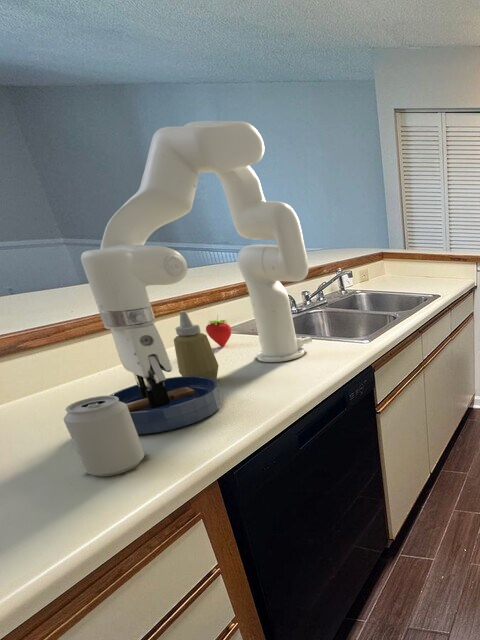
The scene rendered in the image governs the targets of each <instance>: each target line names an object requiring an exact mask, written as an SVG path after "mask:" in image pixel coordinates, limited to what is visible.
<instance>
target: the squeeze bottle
mask: <svg viewBox="0 0 480 640" xmlns="http://www.w3.org/2000/svg"><path fill="white" fill-rule="evenodd" d="M174 329H175V332H176V335H177V336H175V337H174V338H173V345H174V351H175V356H176V362H177V363H176V364H177V367H178V373H179V375H180V376H181V377H182V376H202V377H209V378H212V379H214V380H215V381H216V382H217V380H218V374H219V373H218V372H219V366H220V365H219V363H218V360H217V358H216V355H215V352H214V351H213V348H212V346H211V343H210V341H209V338H208V334H205V333H203V332H202V330H201V328H200V325H199V324H194V323H193V321H192V320H191V317H190V316H189V314H188V312H187V311H186V310H181V311H179V326H176V327H175V328H174Z"/></svg>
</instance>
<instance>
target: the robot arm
mask: <svg viewBox="0 0 480 640" xmlns="http://www.w3.org/2000/svg"><path fill="white" fill-rule="evenodd" d="M264 154H265V143H264V139H263V138H262V135H261V134H260V132H259V131H258V130H257V128H255V126H254V125H252V124H251V123H248V122H246V121H242V120H241V121H240V120H197V121H191V122H188V123H186V124H185V125H182V126H181V125H180V126H175V125H174V126H164V127H161V128H158V129H157V130H156V131H155V132H154V133H153V136H152V138H151V142H150V146H149V150H148V153H147V158H146V162H145V166H144V171H143V174H142V177H141V181H140V186H139V188H138V189H137V192H136V193H134V194H133V195H132V196H131V197H130V198H129V199H128V200H126V201H125V202H124V203H123V205H121V206H120V208H118V210H117V211H116V212H114V214H113V215H112V216H111V217H110V218H109V221H108V222H107V224H106V226H105V229H104V232H103V234H102V235H103V236H102V239H101V243H100V248H98V249H91V250H86V251H83V252H82V253H81V255H80V261H81V265H82V267H83V271H84V273H85V276H86V278H87V281H88V285H89V287H90V290H91V292H92V295H93V298H94V300H95V304H96V307H97V309H98V312H99V315H100V318H101V321H102V324H103V326H104V328H105V329H106V330H111V335H112V338H113V342H114V345H115V349H116V352H117V354H118V357H119V360H120V362H121V365H122V367H123V368H124V369H125V371H127V372H130V373H132V374H133V376H134V379H135V382H136V385H138V386H139V387H140V388H139V390H140V393H141V396H142V399H145V398H148V401H149V403H150V406H151V408H153V409H155V408H158V407H161V406H165V405H168V404H170V400H169V397H168V394H167V391H166V388H165V383H164V381H166V378H167V377H166V375H165V374H164V372H167V373H170V372H172V371H173V366H172V363H171V360H170V358H169V355H168V352H167V350H166V347H165V344H164V341H163V339H162V337H161V335H160V333H159V331H158V329H157V327H156V325H155V324H156V323H157V320H156V318H155V317H156V316H155V314H154V311H153V307H152V304H151V301H150V298H149V295H148V292H147V288H146V287H147V286H168V285H173V284H177V283H179V282H181V281H182V280H184V278H185V277H186V276H187V273H188V263H187V261H186V258H185V257H184V256H183V255H182V254H181V253H180V252H179V251H177V250H175V249H173V248H170V247H168V246H163V245H146V242H147V240H148V239H149V237H150V236H151V235H152V234H153V233H154V232H156V230H158V229H159V228H161V227H163V226H165V225H167V224H169V223H172V222H175V221H176V220H179V219H180V218H182V217H184V216H187V214H189V213H190V212H191V211H192V209H193V206H194V202H195V201H194V200H195V196H196V192H197V187H198V184H199V183H198V182H199V178H200V175H201V174H202V173H213V174H215V176H216V177H217V178H218V180H219V182H220V184H221V187H222V190H223V193H224V196H225V199H226V203H227V207H228V210H229V214H230V216H231V217H230V218H231V220H232V224H233V226H234V229H235V231H236V232H237V234H238V235H239V236H240V237H242V238H244V239H247V240H255V241H275V242H276V244H258V243H257V244H248V245H245V246H243V247H242V248H240V250H239V251H238V254H237V266H238V269H239V271H240V273H241V275H242V277H243V280H244V282H245V285H246V288H247V292H248V295H249V300H250V303H251V308H252V312H253V319H254V322H255V325H256V326H255V327H256V331H257V334H258V335H257V336H258V341H259V344H260V349H261V351H258V353H256V359H257V361H260V362H263V363H283V362H287V361H292V360H295V359H298V358H301V357H303V356H304V355H305V353H306V352H305V349H304V348H303V346H304V345H308V344H312V342H313V339H312V337H310V336H308V337H307V336H306V337H303V338H302V337H297V335H296V330H295V325H294V324H295V323H294V319H293V313H292V308H291V303H290V297H289V294H288V292H287V290H286V288H285V287H284V285H283V284H282V283H281V282H293V283H294V282H295V283H296V282H301V281H303V280H305V279H306V278H307V276H308V273H309V259H308V255H307V249H306V246H305V241H304V235H303V231H302V227H301V223H300V220H299V217H298V215H297V213H296V211H295V210H294V208H292V207H291V206H290V205H289V204H288V203H285V202H283V201H277V200H274V201H273V200H266V197H265V195H264V192H263V188H262V185H261V181H260V179H259V177H258V175H257V174H256V172H255V170H254V169H253V168H252V167H251V166H252V165H256V164H257V163H259V162H261V160H262V158H263V157H264ZM163 371H164V372H163Z"/></svg>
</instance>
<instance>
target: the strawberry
mask: <svg viewBox="0 0 480 640" xmlns="http://www.w3.org/2000/svg"><path fill="white" fill-rule="evenodd" d="M218 318H219V315H217V317H216V320H215V319H214V320H209V321H208V324H207V325H206V326H205V332H206V333H207V334H206V335H207V336H208V337H209V338H210V339H212V341H213V342H215V344H217V345H219V346H220V347H225V346H226V344H227V343H228V341H229V340H230V338H231V336H232V327H231V325H230V324H228V322H227V319H219V320H218Z"/></svg>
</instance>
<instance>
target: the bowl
mask: <svg viewBox="0 0 480 640" xmlns="http://www.w3.org/2000/svg"><path fill="white" fill-rule="evenodd" d="M165 378H166V381H164V383H165V388H166V391H167V392H169V391H172V390H176V389H179V388H185V387H188V388H191V389H193V390H195V393H194V394H190V395H187V396H186V397H182V398H179V399H176V400H172V401H170V404H168V405H165V406H161V407H158V408H155V409H153V408H151V407H149V408H146V409H143V410H140V411H136V412H130V415H131V418H132V421H133V423H134V426H135V429H136V431H137V434H138V435H149V434H157V433H162V432H163V433H164V432H168V431H172V430H176V429H180V428H184V427H186V426H187V427H188V426H189V425H192V424H194V423H197V422H199V421H202V420H203V419H206V418H208V417H210V416H211V415H213V414H215V413H216V412H217V411H219V409H220V408H222V406H223V397H222V394H221V390H220V386H219V383H218V381H217V380H216V381H215V380H214V379H212V378H209V377H202V376H182V375H181V376H173V377H165ZM139 388H140V387H139V386H138V385H137V384H134V385H131V386H128V387H125V388H122V389H119V390H117V391H115V392H113V393H111V394H108V396H116V397H118V398H119V401H120V402H123V403H125V404H127V403H131V402H134V401H138V400H141V399H142V396H141V393H140V390H139Z"/></svg>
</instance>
